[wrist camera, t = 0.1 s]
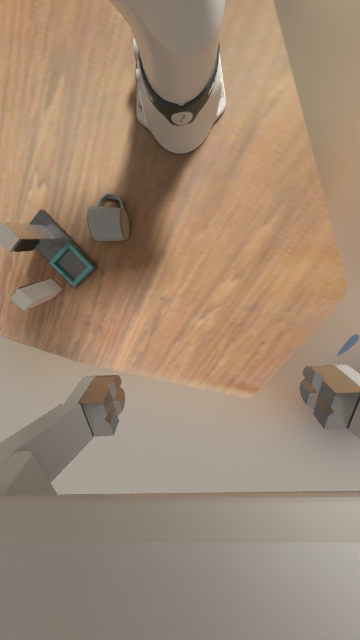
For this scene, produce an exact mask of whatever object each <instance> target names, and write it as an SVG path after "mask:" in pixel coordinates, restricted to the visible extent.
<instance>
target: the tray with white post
mask: <svg viewBox="0 0 360 640" xmlns="http://www.w3.org/2000/svg"><path fill="white" fill-rule="evenodd" d="M0 244H1V245H2V246H3V247H4V248H5V249H6V250H8V251H9V252H21V251H32V250H37V251H38V252H39V253H40V254H41V255H42V256H43V257H45V258H46V259H47V260H48V261H49V264H50V265H51V266H52V267H53V268H54V269H55V270H56V271H57V272H59V273H60V274H61V275H62V276H63V277H64V278H65V279H66V280H67V281H68V282H69V283H70V284H71V285H72V286H73V287H78V286H79V285H80V284H81V283H82V282H83V281H84V280H85V279H86V278H87V277H88V276H89V275H90V274H91V273H92V272H93V271H94V270H95V269H96V268H97V267H98V266H97V265H96V264H95V263H94V262H93V261H92V259H91V258H90V257H89V256H88V255H87V254H86V253H85V252H84V251H83V250H82V249H81V248H80V247H79V246H78V245H77V244H76V243H75V242H74V241H73V240H72V239H71V238H70V237H69V235H68V234H67V233H66V232H65V231H64V230H63V229H62V228H61V227H60V226H59V225H58V224H57V223H56V222H55V221H54V220H53V219H52V218H51V217H50V216H49V215H48V214H47V213H46V211H45V210H40V211H39V212H38V213H37V215H36V216H35V217H34V219H33V220H32V221H31V223H30V224H20V223H9V222H1V223H0Z"/></svg>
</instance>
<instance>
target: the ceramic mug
mask: <svg viewBox="0 0 360 640" xmlns="http://www.w3.org/2000/svg"><path fill="white" fill-rule="evenodd" d="M106 199H114V200H118V201H119V202H120V207H121V208H117V207H101V205H102V203H103V202H104V201H105V200H106ZM87 221H88V226H89V231H90V233H91V236H92V237H93V239H94V240H96V241H123V240H127V239H128V237H129V232H130V228H129V220H128V216H127V213H126V211H125V210H124V209H123V204H122V202H121V200H120V198H119V197H118V196H117V195H115V194H112V193H106V194H104V195H102V196H101V197H100V199H99V201H98V204H97V206H90V207H89V209H88V213H87Z"/></svg>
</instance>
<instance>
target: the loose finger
mask: <svg viewBox="0 0 360 640" xmlns="http://www.w3.org/2000/svg"><path fill="white" fill-rule="evenodd" d="M61 290H62V288H61V287H60V286H59V285H58V284H57V283H55V282H54V281H53V280H52V279H49V280H46V281H42V282H39V283H36V284H35V283H33V284H30V285H26V286H23V287H20V288H19V289H18V290H17V291H16V292H15V293H14V294H13V295H12V297H11V298H10V300H11V301H12V302H13V303H15V304H16V305H17V306H18V307H20V308H21V309H22V310H23V311H25V310H28V309H30V308H32V307H34V306H36V305H39V304H41V303H43V302H45V301H47V300H50V299H52V298H54V297H55V296H56V295H57V294H58V293H59V292H60V291H61Z"/></svg>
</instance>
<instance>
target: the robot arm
mask: <svg viewBox="0 0 360 640" xmlns="http://www.w3.org/2000/svg"><path fill="white" fill-rule="evenodd" d="M109 1H110V2H111V3H112V4H113V5H114V6H115V7H116V8H117V10H118V11H119V12H120V13H121V14H122V16H123V17H124V18H125V20H126V21H127V22H128V24H129V26H130V27H131V29H132V32H133V35H134V40H133V47H134V56H135V59H136V60H137V69H136V79H137V103H136V114H137V119H138V121H139V122H140V123H141V124H142V125H143V126H145V127H146V128H148V129H149V130H150V131H151V132H152V134H153V136H154V137H155V139H156V140H157V141H158V143H159V144H160V145H161V146H162V147H164V148H165V149H167V150H168V151H170V152H173V153H179V154H182V153H188V152H190V151H193V150H194V149H196V148H197V147H199V146H200V145H201V144H202V143H203V141H204V140H205V139H206V137H207V136H208V134H209V132H210V130H211V128H212V125H213V124H214V122H215V121H216V120H217V119H218V118H219V117H220V116H221V115H222V114H223V112H224V111H225V108H226V97H225V90H224V83H223V75H222V68H221V60H220V53H219V48H220V47H219V38H220V32H221V26H222V20H223V14H224V9H225V1H226V0H109ZM220 97H221V99H220ZM141 106H142V109H141ZM303 375H304V377H305V379H304V380H303V381H302V382H301V384H300V393H301V396H302V398H303V401H304V402H305V403H306V404H307V406H309V407H311V408H312V409H314V413H313V415H314V416H315V417H316V419H317V420H318V421H319V423H320V424H321V425H322V427H323V428H324V429H348V431H350V432H351V433H352V434H354V435H355V436H357V437H358V438H359V439H360V374H358V373H357V372H356V371H355V370H353V369H352V368H351V367H350V366H348V365H345V364H335V365H325V366H306V367H305V368H304V370H303ZM120 385H121V378H120V376H118V375H108V376H86V377H84V378H83V379H82V380H81V382H80V383H79V384H78V386H77V387H76V388H75V390H74V391H73V392H72V394H71V395H70V396H69V398H68V399H67V401H66V402H65V403H64V404H63V405H59V406H57V407H56V408H54V409H52V410H51V411H49V412H48V413H46V414H45V415H43V416H42V417H40V418H39V419H37V420H35V421H34V422H32V423H31V424H29V425H28V426H26V427H25V428H23V429H22V430H20V431H19V432H17V433H15V434H14V435H12V436H10V437H9V438H7V439H6V440H5V441H3V442H1V443H0V640H360V491H311V492H310V491H308V492H307V491H306V492H230V493H229V492H227V493H226V492H223V493H149V494H148V493H147V494H67V495H66V494H64V495H57V493H56V491H55V490H54V488H53V487H52V485H51V482H52V481H53V480H54V479H55V478H56V476H57V475H58V474H59V473H60V472H61V471H62V470H63V469H64V468H65V467H66V466H67V465H68V464H69V463H70V462H71V461H72V460H73V459H74V457H75V456H76V455H77V454H78V453H79V452H80V451H81V450H82V449H83V448H84V447H85V446H86V445H87V444H88V443H89V442H90V441H91V440H92V439H93V436H110V435H114V432H115V430H116V427H117V424H118V422H119V420H118V415H119V414H120V413H121V412H122V411H123V408H124V403H125V394H124V390H123V389H122V388H121V387H120Z"/></svg>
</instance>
